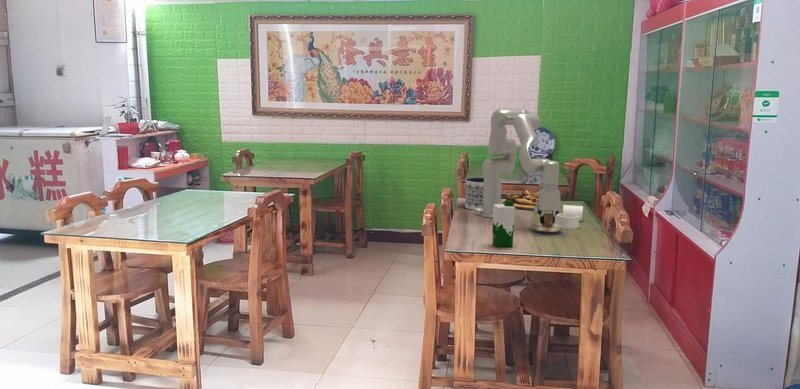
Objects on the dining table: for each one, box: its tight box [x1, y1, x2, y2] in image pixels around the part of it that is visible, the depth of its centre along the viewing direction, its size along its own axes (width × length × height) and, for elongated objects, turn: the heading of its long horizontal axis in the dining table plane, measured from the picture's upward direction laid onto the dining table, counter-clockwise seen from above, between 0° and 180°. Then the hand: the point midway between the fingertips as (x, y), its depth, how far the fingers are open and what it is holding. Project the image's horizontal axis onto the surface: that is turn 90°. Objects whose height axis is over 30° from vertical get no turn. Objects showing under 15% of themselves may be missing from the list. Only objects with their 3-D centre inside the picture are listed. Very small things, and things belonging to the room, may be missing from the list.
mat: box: [527, 227, 569, 237], centre depth 304 cm, size 16×16×1 cm
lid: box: [531, 212, 563, 232], centre depth 304 cm, size 14×14×7 cm
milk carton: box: [491, 200, 516, 248], centre depth 278 cm, size 9×9×20 cm
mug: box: [562, 204, 584, 222], centre depth 335 cm, size 12×10×8 cm
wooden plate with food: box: [501, 189, 540, 211], centre depth 374 cm, size 32×32×8 cm
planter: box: [464, 177, 484, 211], centre depth 364 cm, size 18×18×16 cm
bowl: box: [555, 212, 580, 230], centre depth 317 cm, size 11×11×6 cm
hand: (547, 223), depth 304 cm, fingers closed on lid, 4 cm apart
